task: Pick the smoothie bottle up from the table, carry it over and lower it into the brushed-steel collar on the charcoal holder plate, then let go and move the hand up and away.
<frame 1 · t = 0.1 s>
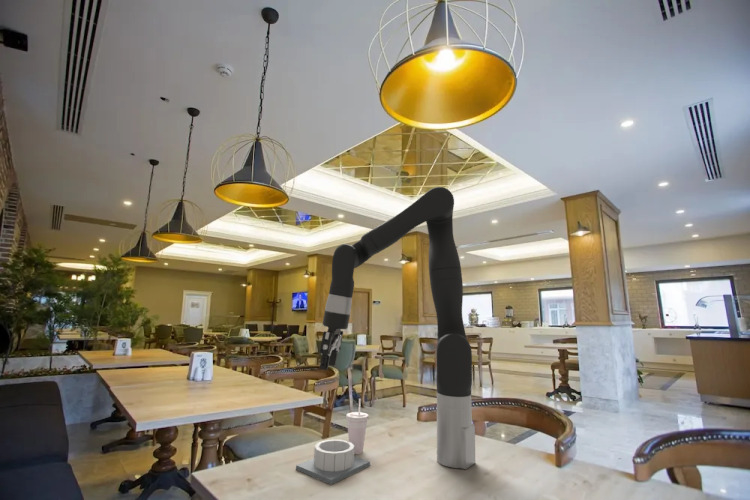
hand: (327, 367, 107), 22 cm above the table, tool pointing down, fingers open, 8 cm apart
holder: (333, 467, 92), on the table
smoothie: (356, 452, 103), on the table
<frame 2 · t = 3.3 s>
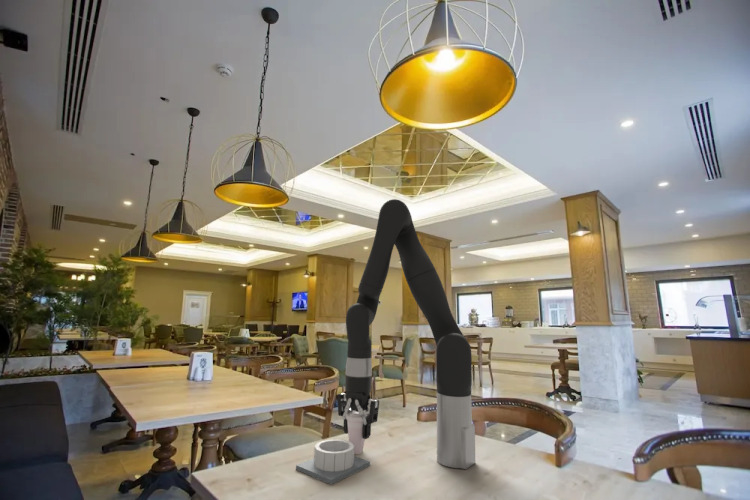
hand: (356, 435, 104), 4 cm above the table, tool pointing down, fingers closed on smoothie, 6 cm apart
smoothie: (356, 452, 103), on the table, touching gripper
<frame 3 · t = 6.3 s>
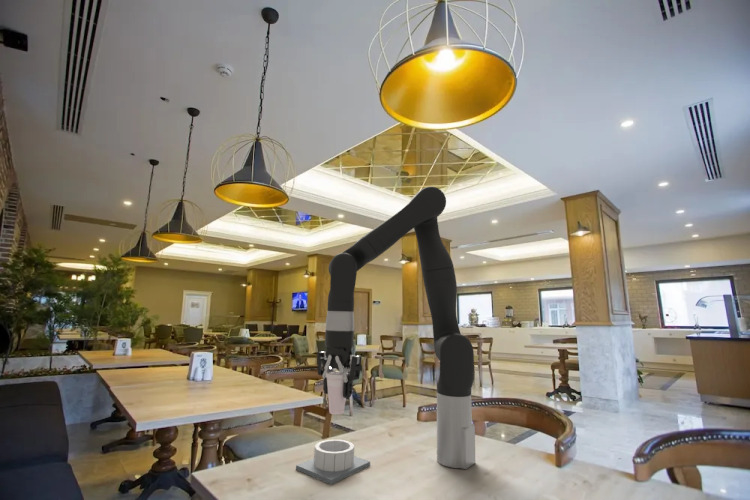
hand: (337, 395, 95), 17 cm above the table, tool pointing down, fingers closed on smoothie, 6 cm apart
smoothie: (336, 413, 94), point 13 cm above the table, touching gripper
when the fingers open (7 cm above the table, at t = 9.1 s): smoothie drops 1 cm, resting on holder.
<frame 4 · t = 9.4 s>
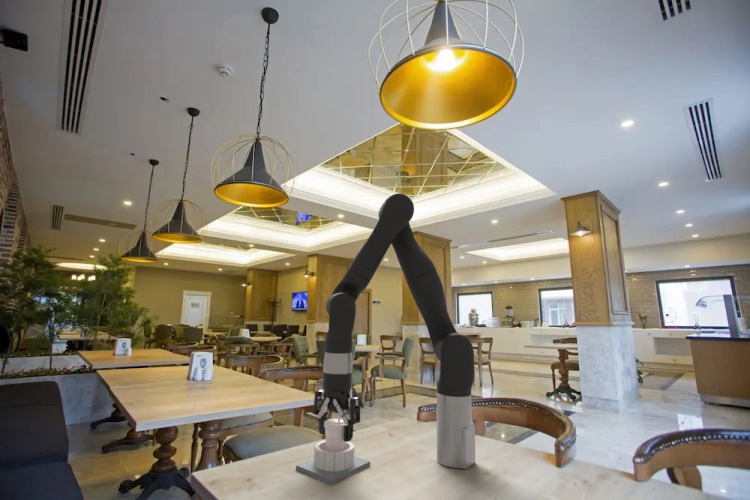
hand: (335, 437, 93), 7 cm above the table, tool pointing down, fingers open, 8 cm apart
smoothie: (334, 464, 92), point 1 cm above the table, touching holder
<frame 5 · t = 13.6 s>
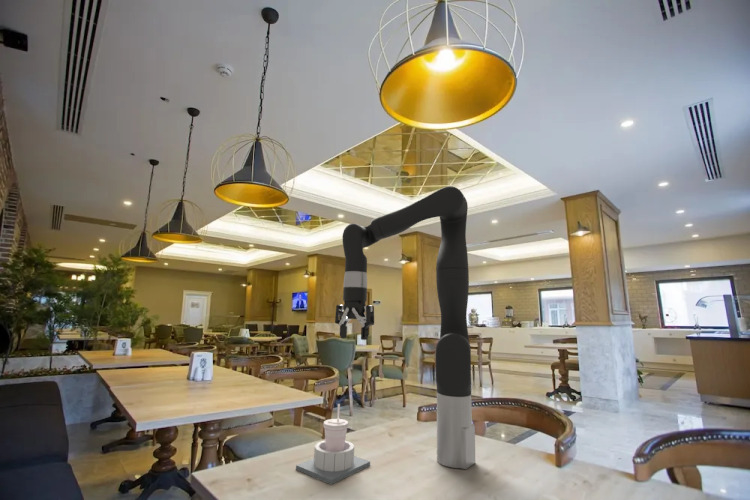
hand: (353, 338, 115), 30 cm above the table, tool pointing down, fingers open, 8 cm apart
nothing on the table moved.
at the end: smoothie 0.1 cm off-centre on the holder, point 0.8 cm above the holder's base; smoothie tilted 0°; the gripper is holding nothing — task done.
